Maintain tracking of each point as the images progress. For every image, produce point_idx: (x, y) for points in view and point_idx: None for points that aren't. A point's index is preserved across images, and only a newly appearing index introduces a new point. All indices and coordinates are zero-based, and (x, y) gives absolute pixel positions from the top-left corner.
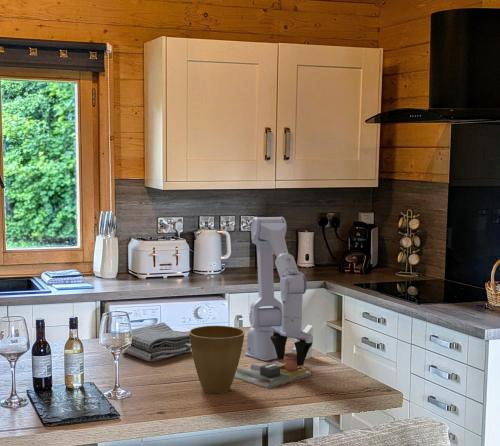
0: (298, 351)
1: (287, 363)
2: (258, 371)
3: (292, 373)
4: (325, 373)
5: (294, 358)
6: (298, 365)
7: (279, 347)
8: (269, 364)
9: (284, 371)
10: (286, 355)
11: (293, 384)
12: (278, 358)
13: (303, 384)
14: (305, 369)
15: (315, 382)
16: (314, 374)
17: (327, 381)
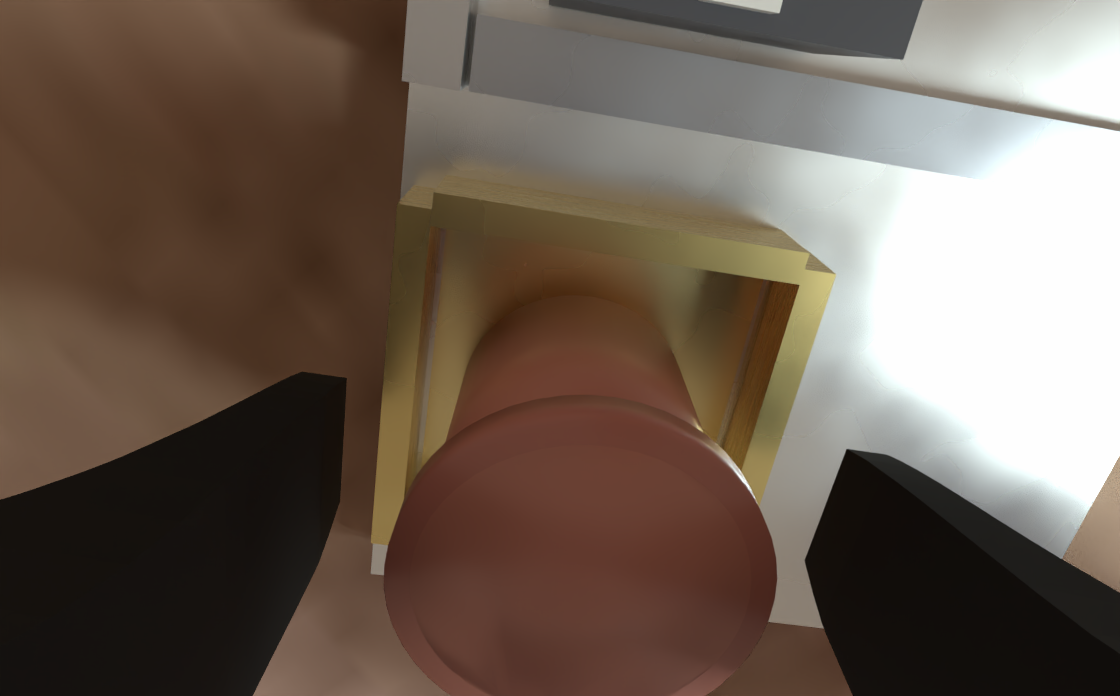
0: (32, 522)
1: (589, 368)
2: (1078, 83)
3: (401, 219)
4: (302, 692)
5: (421, 475)
6: (308, 376)
7: (1012, 673)
8: (899, 9)
9: (576, 212)
10: (676, 505)
11: (284, 29)
12: (878, 460)
13: (173, 144)
14: (374, 523)
15: (127, 344)
16: (372, 597)
17: (56, 477)
